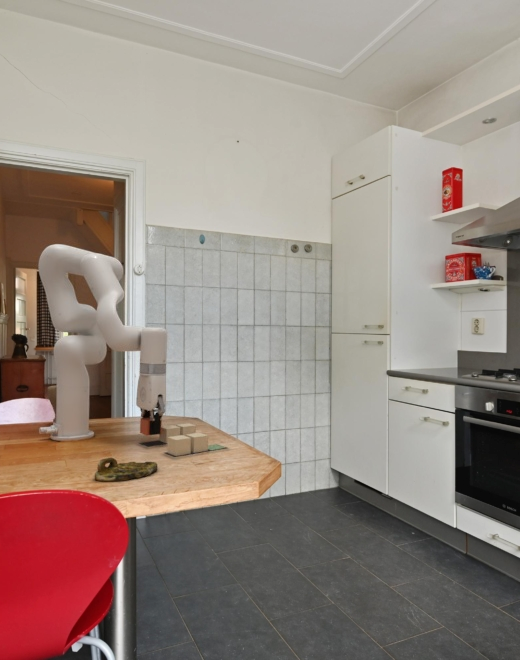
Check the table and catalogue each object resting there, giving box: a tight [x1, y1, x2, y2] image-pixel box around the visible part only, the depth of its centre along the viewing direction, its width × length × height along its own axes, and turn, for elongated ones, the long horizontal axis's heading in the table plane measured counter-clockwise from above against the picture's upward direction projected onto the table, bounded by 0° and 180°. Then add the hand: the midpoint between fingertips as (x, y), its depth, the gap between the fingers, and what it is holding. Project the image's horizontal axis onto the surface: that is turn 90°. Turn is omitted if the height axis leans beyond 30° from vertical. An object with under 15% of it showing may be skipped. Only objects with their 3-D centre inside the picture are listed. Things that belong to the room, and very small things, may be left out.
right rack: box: [164, 432, 228, 458], centre depth 131 cm, size 17×6×5 cm, turn 130°
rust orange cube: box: [139, 417, 163, 437], centre depth 139 cm, size 4×4×4 cm
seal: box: [94, 457, 158, 482], centre depth 108 cm, size 9×5×15 cm
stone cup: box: [47, 384, 57, 423], centre depth 169 cm, size 15×12×15 cm
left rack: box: [138, 422, 197, 448], centre depth 142 cm, size 17×6×5 cm, turn 130°
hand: (150, 432), depth 139 cm, fingers closed on rust orange cube, 4 cm apart
